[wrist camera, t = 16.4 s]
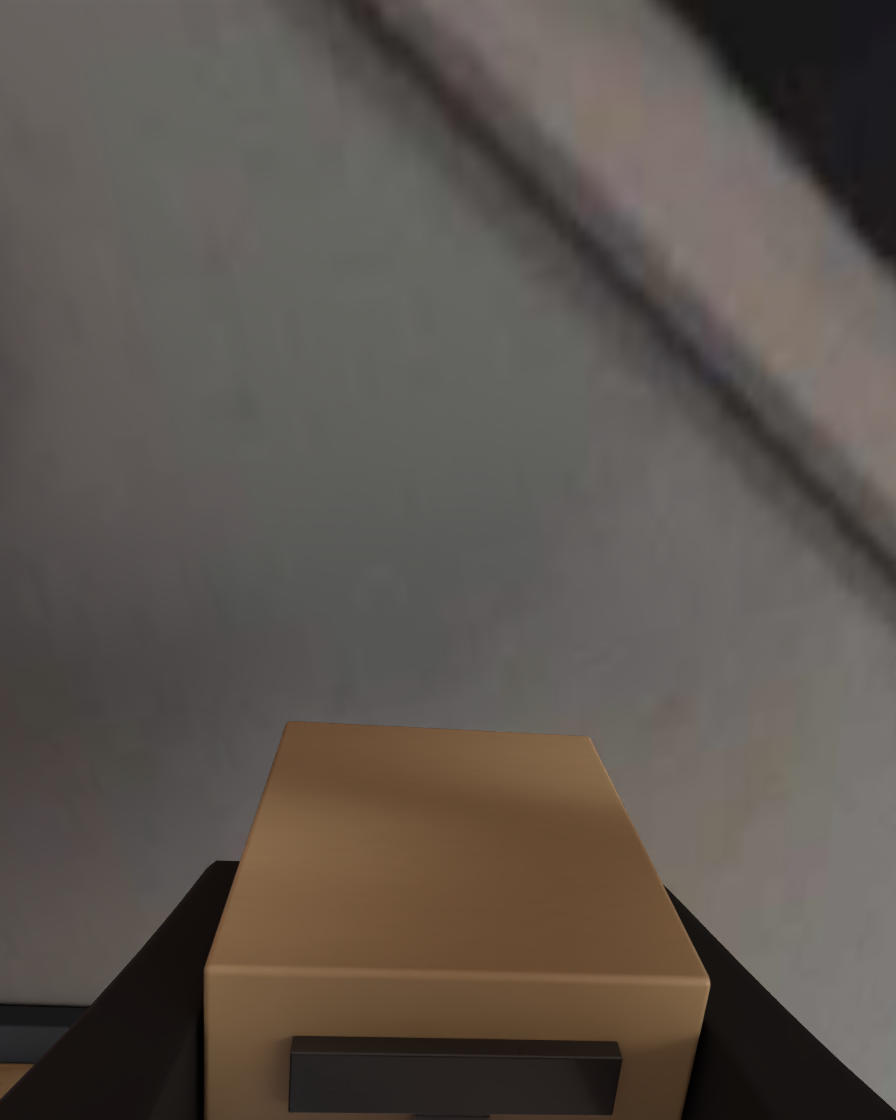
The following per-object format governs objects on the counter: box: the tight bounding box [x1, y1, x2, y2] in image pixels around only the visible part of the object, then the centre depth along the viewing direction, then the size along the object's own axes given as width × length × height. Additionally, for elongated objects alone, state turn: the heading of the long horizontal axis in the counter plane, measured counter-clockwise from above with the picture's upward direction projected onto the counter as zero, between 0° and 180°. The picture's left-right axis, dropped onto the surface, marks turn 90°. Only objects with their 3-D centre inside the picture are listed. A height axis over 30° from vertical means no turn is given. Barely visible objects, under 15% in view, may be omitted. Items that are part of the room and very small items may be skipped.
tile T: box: [204, 721, 710, 1120], centre depth 8 cm, size 4×4×4 cm
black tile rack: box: [0, 1005, 88, 1064], centre depth 18 cm, size 17×6×1 cm, turn 84°
